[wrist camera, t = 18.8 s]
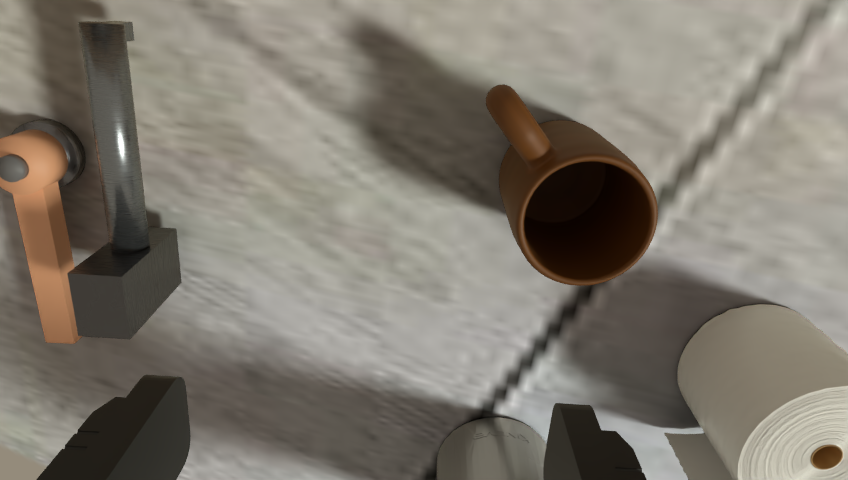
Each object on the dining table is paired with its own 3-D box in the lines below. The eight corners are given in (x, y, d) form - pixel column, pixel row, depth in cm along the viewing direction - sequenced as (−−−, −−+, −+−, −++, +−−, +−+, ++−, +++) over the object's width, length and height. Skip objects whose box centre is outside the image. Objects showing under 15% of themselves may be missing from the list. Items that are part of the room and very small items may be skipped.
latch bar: (49, 328, 43) (23, 351, 41) (5, 128, 38) (-29, 138, 35) (99, 331, 43) (76, 353, 41) (62, 130, 38) (32, 141, 35)
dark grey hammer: (181, 282, 42) (129, 339, 35) (138, 279, 42) (78, 335, 35) (156, 22, 35) (87, 28, 28) (105, 19, 35) (23, 24, 28)
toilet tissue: (845, 312, 43) (956, 398, 34) (785, 444, 48) (869, 552, 38) (700, 293, 43) (773, 374, 34) (653, 427, 47) (706, 532, 38)
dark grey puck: (89, 186, 41) (81, 190, 40) (24, 181, 41) (15, 186, 40) (79, 121, 39) (71, 124, 38) (12, 117, 39) (2, 119, 38)
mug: (434, 109, 38) (433, 142, 30) (534, 33, 37) (564, 44, 28) (537, 248, 42) (564, 314, 33) (633, 185, 40) (688, 237, 31)
